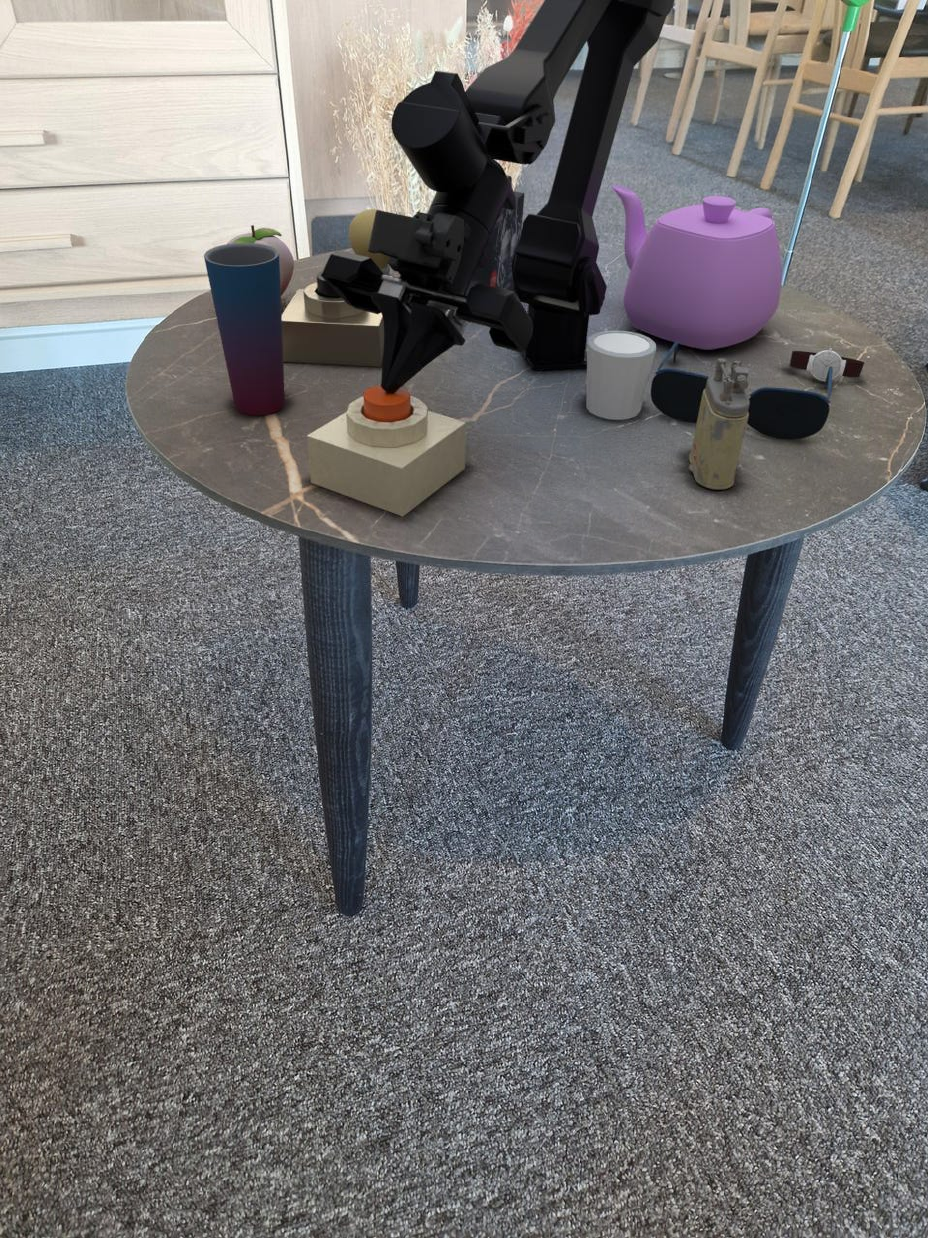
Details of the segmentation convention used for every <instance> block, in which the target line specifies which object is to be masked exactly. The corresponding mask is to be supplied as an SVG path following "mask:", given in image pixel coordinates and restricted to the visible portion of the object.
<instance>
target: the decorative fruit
mask: <svg viewBox="0 0 928 1238" xmlns="http://www.w3.org/2000/svg"><path fill="white" fill-rule="evenodd" d="M250 229H251V232H246V233H242V234H239V235H236V236H234V237H233V238H231V239H230V240H229V241H228V242H226V244H232V243H258V244H264V245H268V246H271V247H274V248H276V249H277V250H278V252H279V261H280V287H281V296H283V295H284V293H285V292H286V290H287V289H288V287H289V284H290V282H291V280H292V277H293V274H294V268H295V261H294V257H293V253H292V252H291V250H290V248H289V247H288V245H287V244H286V243H285V242H284V241H283V240H282V239H280V238H278V237H283V236H282V234H281V232H280V231H277V230H276V229H274V228H269V227H261V228H257V229H255V224H252V225H250ZM277 236H278V237H277Z"/></svg>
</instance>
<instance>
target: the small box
mask: <svg viewBox="0 0 928 1238" xmlns="http://www.w3.org/2000/svg"><path fill="white" fill-rule="evenodd" d="M513 191H514V193H515V196H516V207H515V209H514V210H509V209H504V208H503V209H502V211H501V213H500V216H499V218H498V220H497V223H496V225H495V227H494V229H493V232H492V234H491V236H490V239H489V241H488V243H487V246H486V248H485V250H484V251H485V253H486V255H487V256H488V258H489V261H488V263H487V266H486V268H485V269H480V268H477V269H476V271H475V273H474V276H473V278H472V280H471V283H470V285H469V287H468V290H467V292H466V294H465V295H468V293H469V291H470V289H471V287H473V286H475V285H477V284H484V285H488V286H492V287H496V288H500V289H505V290H509V291H515V289H514V282H513V275H512V261H513V257H514V254H515V250H516V248H517V246H518V243H519V240H520V236H521V232H522V226H523V220H524V219H523V217H524V204H525V192H522V191H521V192H520V191H515V190H513Z"/></svg>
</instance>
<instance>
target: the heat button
mask: <svg viewBox="0 0 928 1238" xmlns="http://www.w3.org/2000/svg"><path fill="white" fill-rule="evenodd" d="M321 273H322V271H319V272H318V273H317V274H316V282H317V289H318V295H320V296H323V297H329V298H342V297H341V296H340V295H339V294H338V293H337V292H336V291H335V290H334V289H333V288H332V287H331V286H330V285H329V284H328V283H327V282H326V281H325V280H324V279H323V277H322V276H321Z"/></svg>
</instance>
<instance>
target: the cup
mask: <svg viewBox="0 0 928 1238" xmlns="http://www.w3.org/2000/svg"><path fill="white" fill-rule="evenodd" d="M203 258H204V263H205V268H206V273H207V278H208V282H209V288H210V292H211V297H212V302H213V306H214V307H213V308H214V311H215V316H216V321H217V327H218V331H219V336H220V340H221V347H222V351H223V355H224V356H223V357H224V360H225V365H226V369H227V373H228V374H227V375H228V379H229V383H230V384H229V385H230V389H231V394H232V398H233V404H234V408H235V410H237V411H238V413H241V414H243V415H249V416H266V415H271V414H274V413H277V412H280V411H281V410H282V409H283V408H284V407H285V405H286V398H285V394H286V393H285V371H284V370H285V369H284V368H285V367H284V362H283V341H282V314H283V313H282V295H281V287H280V261H279V252H278V250H277V249H276V248H274V247H271V246H268V245H264V244H258V243H232V244H227V243H226V244H221V245H218V246H214V247H211V248H210V249H208V250H206V251H205V252H204V255H203Z"/></svg>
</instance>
